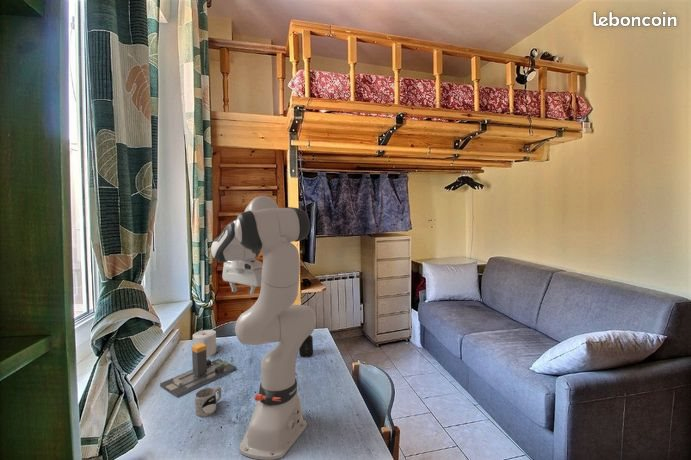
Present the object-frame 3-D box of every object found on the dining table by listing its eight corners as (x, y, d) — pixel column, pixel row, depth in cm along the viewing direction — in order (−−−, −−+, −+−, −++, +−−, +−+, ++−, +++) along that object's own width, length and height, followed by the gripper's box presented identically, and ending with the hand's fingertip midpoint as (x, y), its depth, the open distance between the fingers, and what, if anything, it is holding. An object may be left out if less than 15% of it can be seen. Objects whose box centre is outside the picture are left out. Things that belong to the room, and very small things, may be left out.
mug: (204, 419, 106) (203, 400, 106) (191, 413, 109) (190, 395, 109) (227, 403, 115) (227, 385, 114) (214, 398, 118) (214, 381, 117)
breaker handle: (202, 369, 136) (201, 343, 135) (207, 372, 133) (206, 345, 133) (192, 374, 132) (191, 346, 132) (197, 376, 130) (196, 348, 129)
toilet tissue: (207, 347, 164) (207, 328, 163) (222, 352, 158) (222, 332, 157) (188, 355, 155) (187, 335, 154) (203, 360, 148) (203, 340, 148)
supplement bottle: (314, 351, 157) (313, 328, 156) (311, 358, 150) (311, 333, 149) (300, 351, 157) (300, 327, 157) (297, 357, 151) (297, 333, 150)
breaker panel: (218, 361, 148) (218, 354, 148) (236, 369, 140) (236, 362, 139) (160, 386, 126) (159, 378, 126) (177, 397, 118) (177, 389, 118)
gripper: (218, 261, 136) (219, 291, 138) (255, 266, 128) (256, 299, 130) (229, 258, 142) (230, 287, 144) (265, 263, 134) (266, 294, 136)
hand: (242, 293), depth 137 cm, fingers open, 8 cm apart
